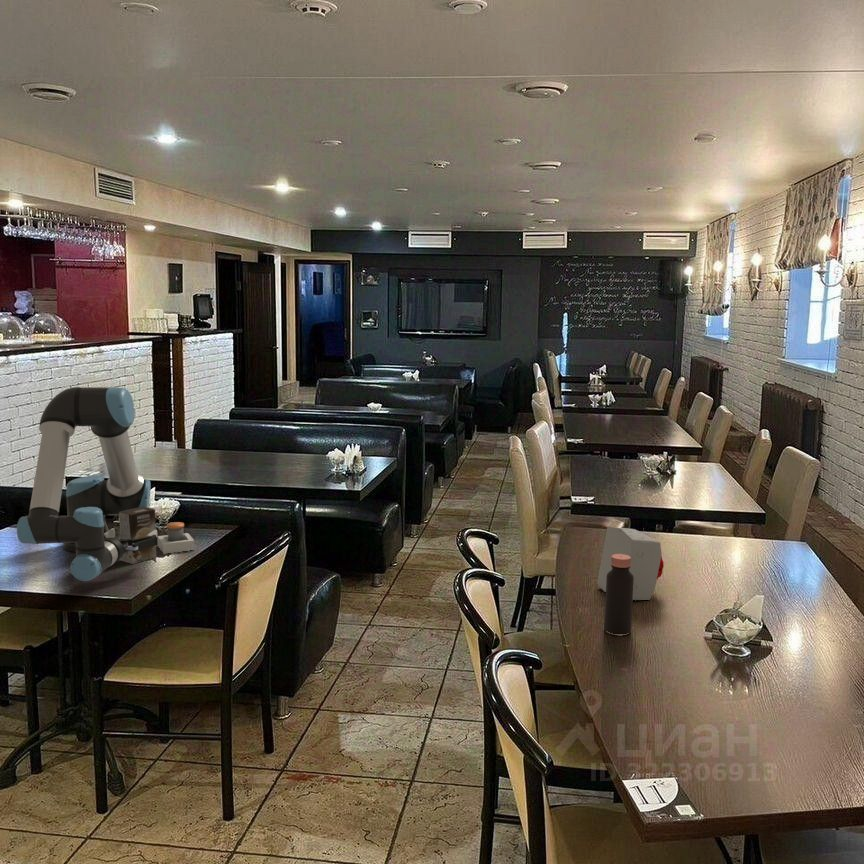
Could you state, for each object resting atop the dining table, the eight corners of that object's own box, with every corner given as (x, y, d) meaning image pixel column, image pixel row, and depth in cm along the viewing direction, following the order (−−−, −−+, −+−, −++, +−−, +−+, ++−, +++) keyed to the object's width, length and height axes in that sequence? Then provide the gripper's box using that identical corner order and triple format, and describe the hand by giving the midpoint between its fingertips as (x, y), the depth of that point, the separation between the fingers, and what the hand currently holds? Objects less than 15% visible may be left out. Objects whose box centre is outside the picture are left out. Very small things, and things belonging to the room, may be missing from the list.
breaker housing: (158, 546, 288) (157, 536, 288) (188, 542, 293) (188, 532, 292) (163, 554, 280) (163, 544, 279) (194, 550, 284) (194, 540, 284)
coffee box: (132, 564, 269) (130, 514, 266) (120, 560, 272) (118, 511, 270) (157, 557, 276) (155, 509, 274) (144, 554, 280) (143, 506, 277)
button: (165, 538, 287) (165, 523, 286) (182, 536, 290) (182, 521, 289) (168, 542, 282) (168, 527, 281) (186, 541, 285) (185, 525, 284)
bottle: (605, 625, 225) (608, 551, 222) (631, 628, 223) (635, 554, 220) (602, 634, 219) (606, 559, 215) (629, 638, 217) (633, 561, 214)
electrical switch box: (666, 607, 245) (679, 539, 243) (620, 604, 240) (633, 535, 238) (639, 590, 259) (652, 526, 257) (596, 587, 254) (608, 522, 252)
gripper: (64, 564, 250) (96, 543, 271) (148, 567, 249) (174, 545, 270) (63, 539, 249) (95, 520, 270) (147, 542, 248) (173, 522, 269)
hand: (134, 533), depth 270 cm, fingers open, 13 cm apart
